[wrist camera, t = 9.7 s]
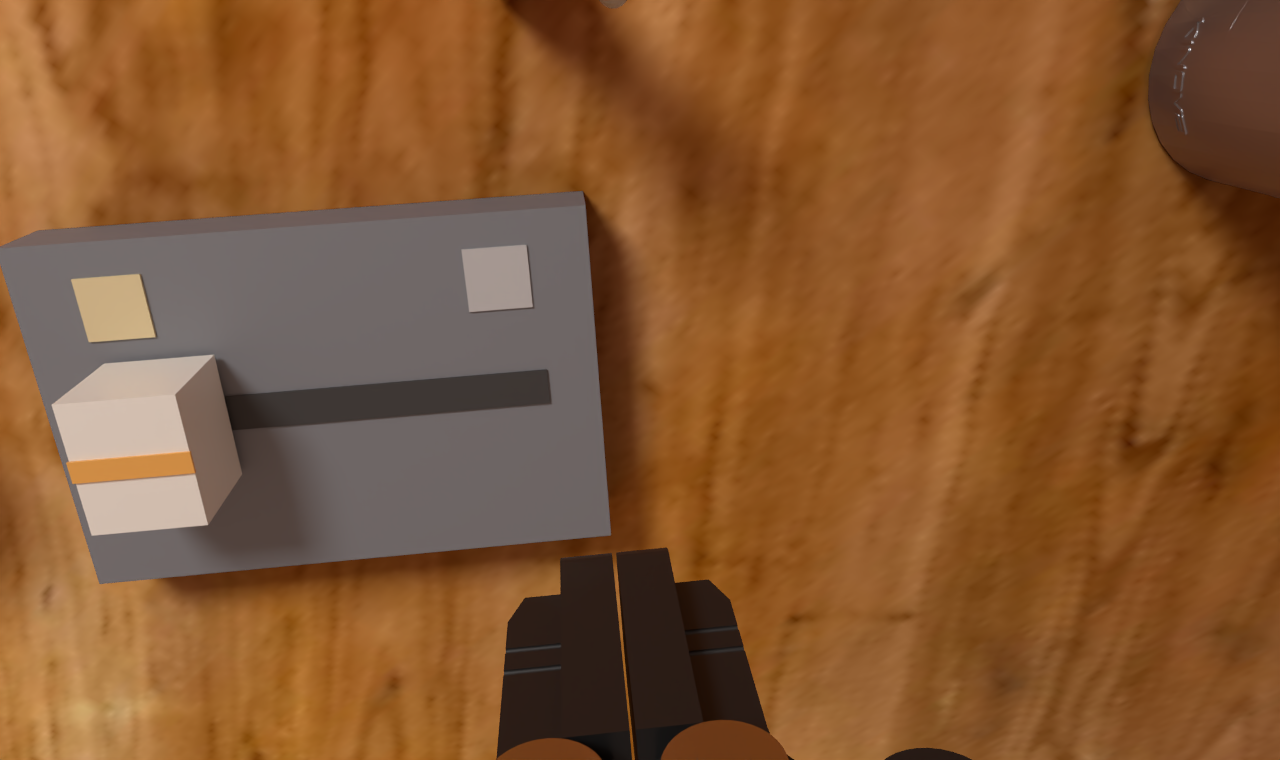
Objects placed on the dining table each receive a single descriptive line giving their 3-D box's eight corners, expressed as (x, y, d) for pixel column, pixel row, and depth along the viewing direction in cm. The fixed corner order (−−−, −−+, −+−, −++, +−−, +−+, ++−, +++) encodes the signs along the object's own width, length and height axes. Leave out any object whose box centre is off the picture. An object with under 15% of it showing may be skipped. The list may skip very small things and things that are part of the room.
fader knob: (215, 354, 35) (175, 395, 32) (243, 473, 37) (208, 526, 33) (102, 363, 35) (48, 406, 31) (136, 483, 37) (88, 537, 33)
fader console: (582, 190, 38) (585, 205, 35) (607, 501, 43) (611, 536, 40) (37, 230, 36) (-7, 249, 34) (129, 545, 42) (98, 585, 39)
